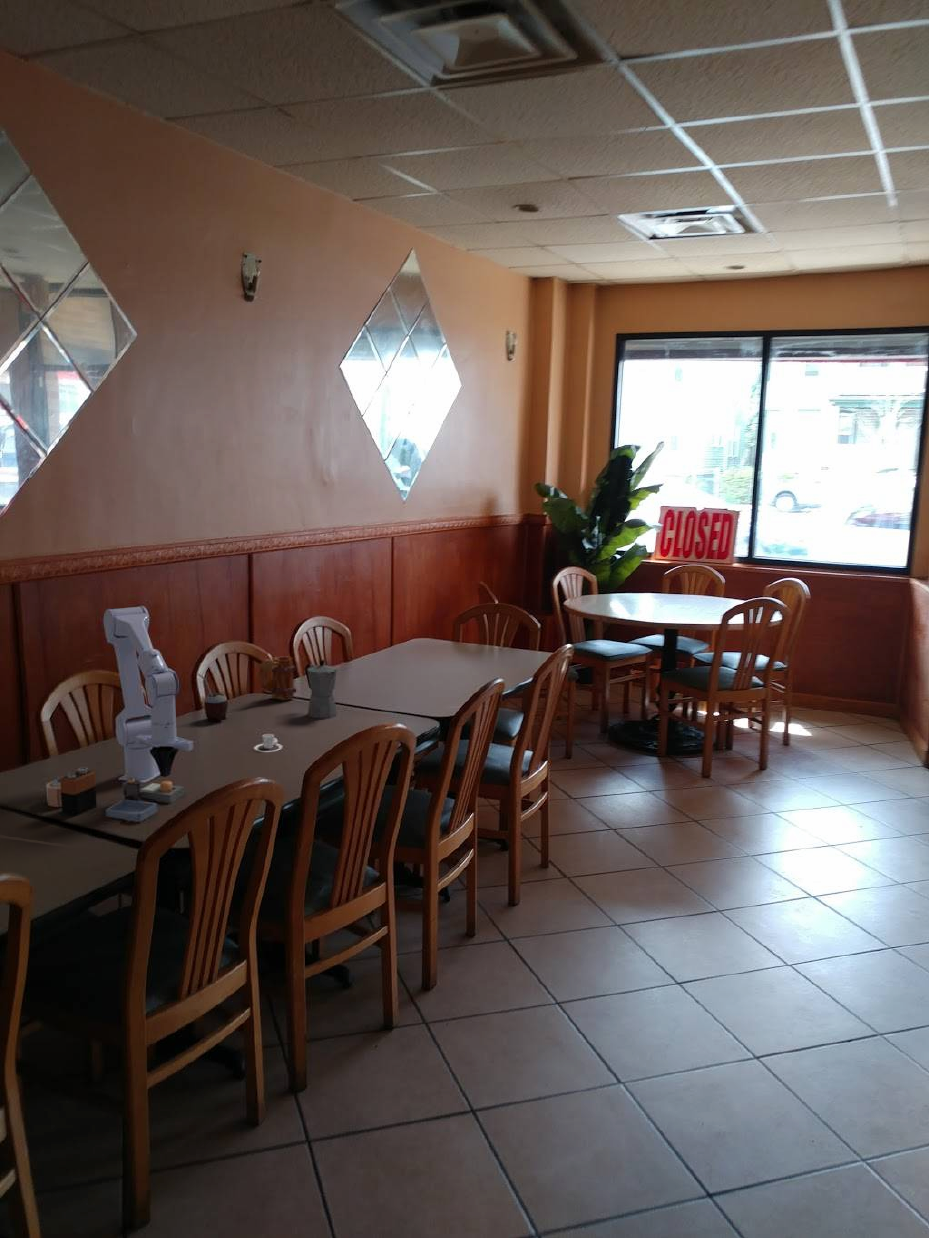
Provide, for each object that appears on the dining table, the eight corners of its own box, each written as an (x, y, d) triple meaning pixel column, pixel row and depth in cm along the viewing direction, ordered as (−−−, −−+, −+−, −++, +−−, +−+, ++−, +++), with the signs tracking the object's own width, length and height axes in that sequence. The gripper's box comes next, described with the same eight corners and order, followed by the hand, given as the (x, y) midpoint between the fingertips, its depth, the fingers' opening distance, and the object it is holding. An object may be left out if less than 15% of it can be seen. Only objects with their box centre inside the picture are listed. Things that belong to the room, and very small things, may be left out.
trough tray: (124, 807, 222) (123, 799, 222) (157, 811, 220) (157, 803, 219) (105, 818, 215) (105, 809, 215) (139, 822, 213) (139, 814, 213)
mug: (285, 694, 324) (284, 651, 321) (301, 698, 319) (301, 655, 316) (252, 703, 312) (251, 659, 309) (269, 707, 307) (268, 662, 305)
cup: (60, 797, 227) (59, 777, 226) (83, 800, 226) (81, 780, 225) (42, 806, 221) (40, 786, 220) (65, 809, 220) (64, 789, 219)
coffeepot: (346, 716, 299) (346, 661, 295) (322, 721, 292) (321, 665, 289) (318, 706, 310) (317, 653, 306) (294, 711, 303) (293, 657, 300)
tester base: (184, 794, 231) (184, 785, 230) (170, 803, 225) (170, 794, 224) (152, 790, 233) (151, 781, 232) (137, 798, 227) (137, 790, 227)
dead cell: (61, 797, 226) (59, 773, 225) (75, 799, 225) (73, 775, 224) (49, 803, 222) (48, 779, 221) (64, 805, 221) (62, 781, 220)
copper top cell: (129, 799, 227) (128, 776, 225) (144, 801, 226) (143, 777, 224) (119, 805, 223) (118, 781, 222) (134, 807, 222) (133, 783, 221)
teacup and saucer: (269, 742, 273) (269, 728, 272) (290, 747, 269) (290, 733, 268) (248, 750, 266) (247, 736, 265) (269, 755, 262) (268, 741, 261)
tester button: (164, 792, 230) (164, 780, 229) (174, 793, 229) (174, 781, 229) (158, 796, 227) (157, 784, 227) (168, 797, 227) (167, 785, 226)
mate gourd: (231, 721, 291) (230, 674, 289) (207, 725, 287) (205, 677, 284) (222, 715, 297) (220, 669, 295) (198, 719, 293) (196, 672, 290)
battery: (97, 808, 221) (95, 767, 219) (75, 818, 215) (72, 777, 213) (83, 805, 223) (81, 765, 221) (61, 815, 217) (58, 774, 215)
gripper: (127, 723, 223) (129, 777, 226) (181, 729, 219) (183, 784, 222) (144, 715, 230) (146, 767, 232) (197, 721, 226) (198, 774, 229)
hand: (165, 775), depth 228 cm, fingers closed
